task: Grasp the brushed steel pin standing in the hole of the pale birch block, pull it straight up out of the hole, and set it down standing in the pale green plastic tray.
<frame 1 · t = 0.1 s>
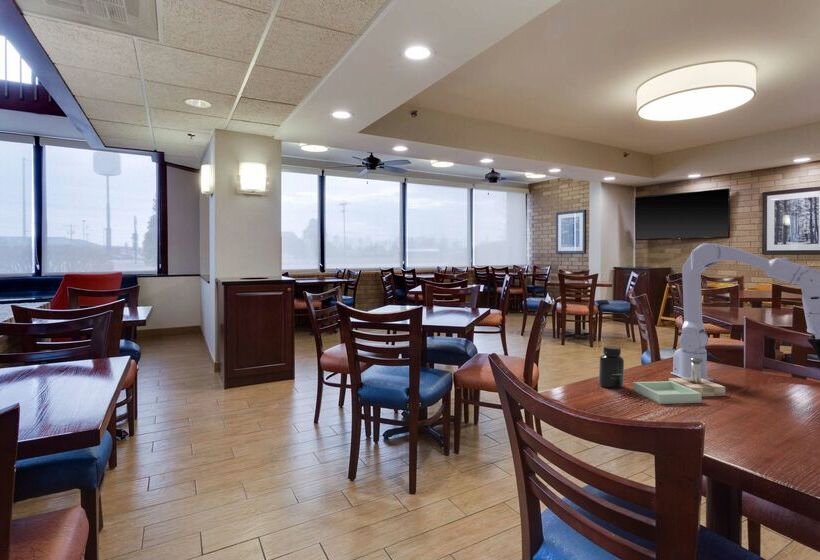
steel pin: (695, 374, 127), in the birch block
birch block: (695, 390, 127), on the table
supplement bottle: (611, 386, 133), on the table
green tray: (665, 396, 123), on the table
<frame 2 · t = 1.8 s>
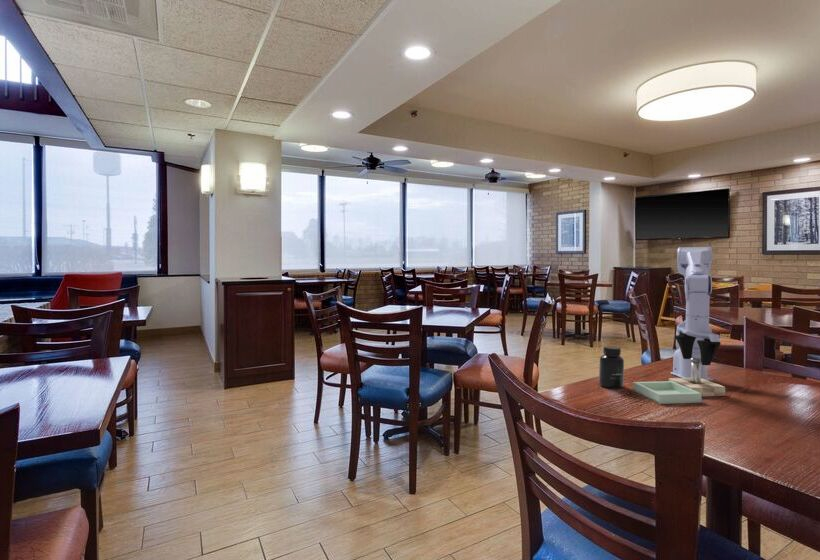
hand: (696, 361, 127), 9 cm above the table, tool pointing down, fingers open, 7 cm apart
nothing on the table moved.
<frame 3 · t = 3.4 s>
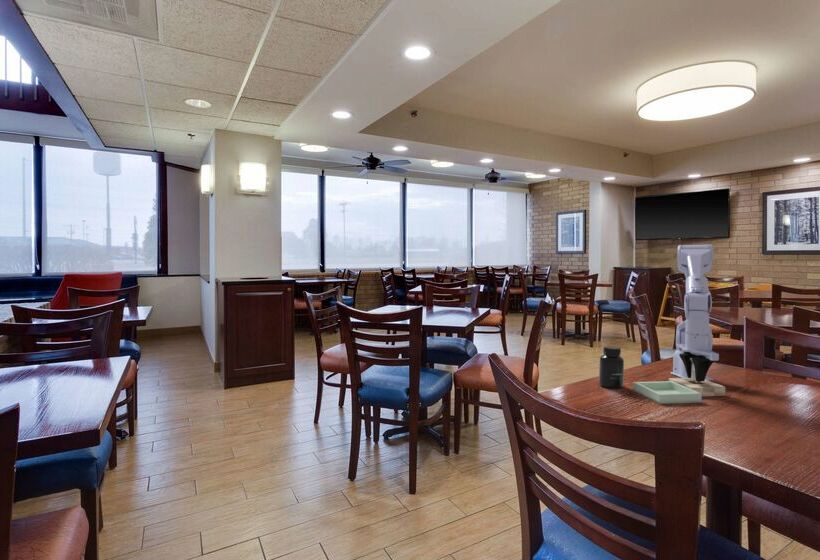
hand: (695, 379, 127), 3 cm above the table, tool pointing down, fingers closed on steel pin, 3 cm apart
steel pin: (695, 374, 127), in the birch block, touching gripper
everything else where it was.
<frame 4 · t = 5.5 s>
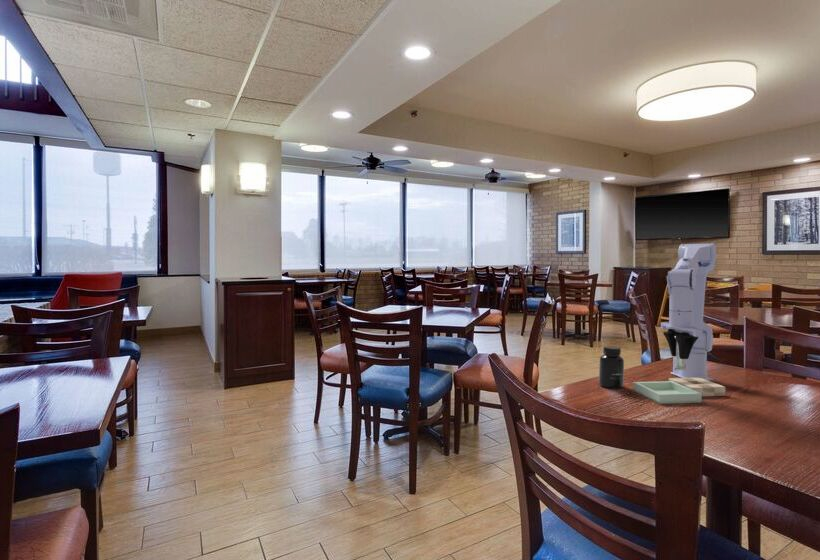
hand: (679, 357, 125), 11 cm above the table, tool pointing down, fingers closed on steel pin, 3 cm apart
steel pin: (680, 352, 125), point 12 cm above the table, touching gripper
everything else where it was.
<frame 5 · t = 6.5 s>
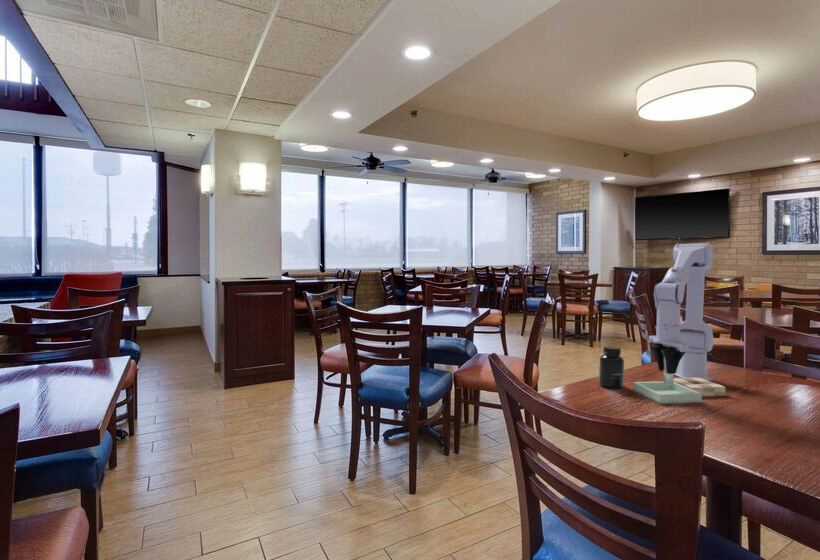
hand: (667, 371, 123), 7 cm above the table, tool pointing down, fingers closed on steel pin, 3 cm apart
steel pin: (668, 367, 123), point 8 cm above the table, touching gripper
everything else where it was.
when the fingers open (5 cm above the table, at t = 7.5 s): steel pin drops 1 cm, resting on green tray.
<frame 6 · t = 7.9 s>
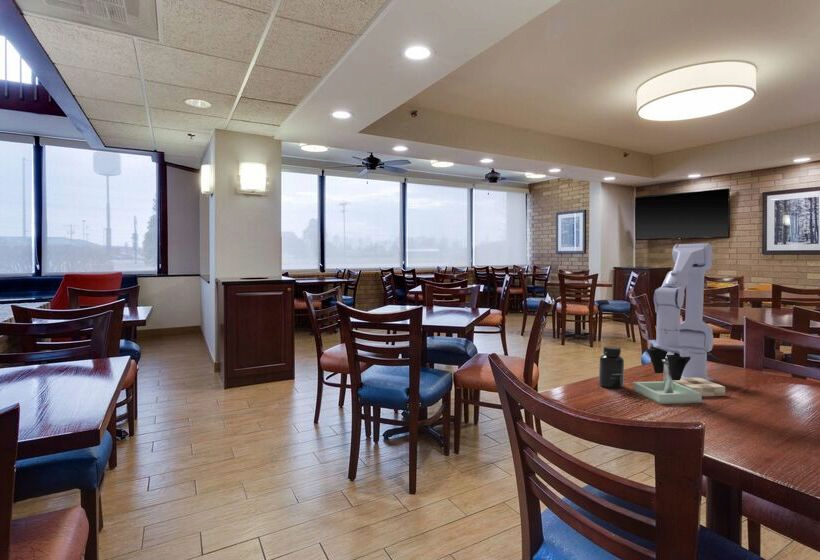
hand: (667, 376, 123), 5 cm above the table, tool pointing down, fingers open, 7 cm apart
steel pin: (668, 376, 124), in the green tray, point 5 cm above the table
everything else where it was.
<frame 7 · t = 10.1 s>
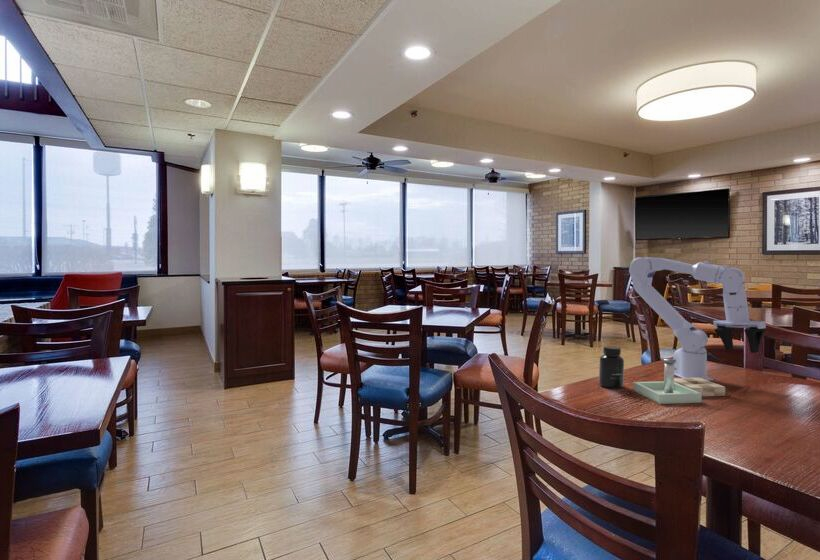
hand: (741, 351, 132), 11 cm above the table, tool pointing down, fingers open, 7 cm apart
nothing on the table moved.
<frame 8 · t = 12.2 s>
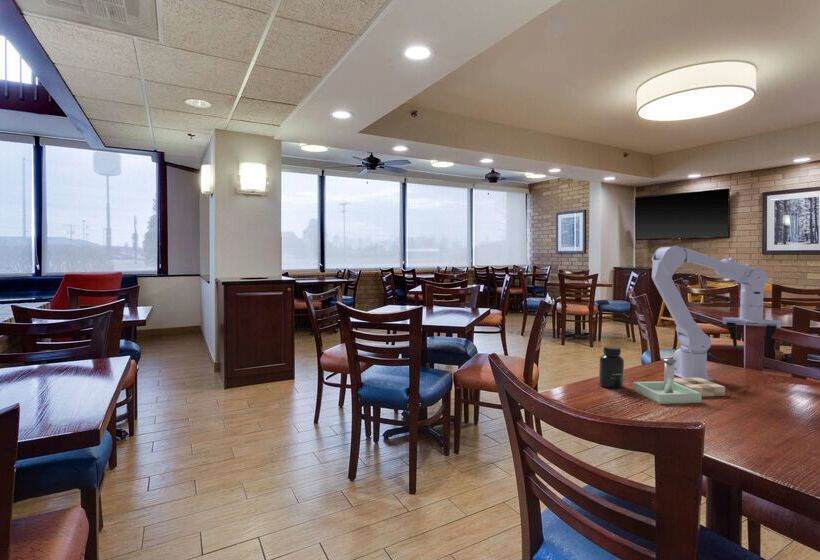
hand: (750, 347, 138), 10 cm above the table, tool pointing down, fingers open, 7 cm apart
nothing on the table moved.
at the end: steel pin inside the target area on the green tray (2.1 cm from its centre), point 5.4 cm above the green tray's base; the gripper is holding nothing; steel pin moved 10.7 cm from its start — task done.
